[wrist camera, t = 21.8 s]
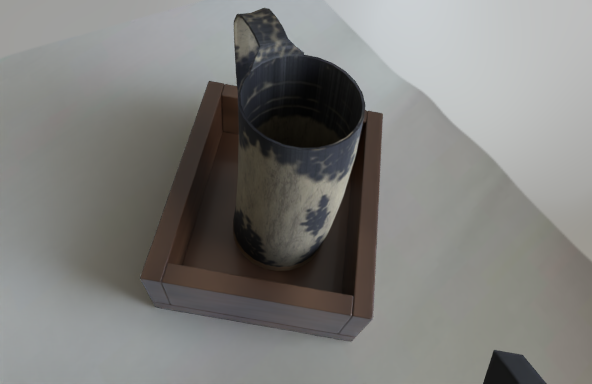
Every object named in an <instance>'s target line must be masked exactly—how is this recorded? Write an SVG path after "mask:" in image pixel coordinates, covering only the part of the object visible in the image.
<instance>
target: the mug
mask: <svg viewBox="0 0 592 384" xmlns="http://www.w3.org/2000/svg"><path fill="white" fill-rule="evenodd" d="M234 43H235V62H236V78H237V90H238V120H239V149H238V182H237V196H236V207H235V213H234V219H233V236H234V239H235V242H236V244H237V247H238V248H239V249H240V251H241V252H242V254H243V255H244V256H245V257H246V258H247V259H248V260H250V261H251V262H252V263H253V264H256V265H258V266H260V267H262V268H264V269H269V270H274V271H288V270H292V269H295V268H299V267H302V266H303V265H305V264H306V263H308V262H309V261H311V260H312V259H313V258H314V256H315V255H316V254H317V253H318V252H319V250H320V248H321V246H322V243H323V241H324V240H325V238H326V236H327V234H328V232H329V230H330V228H331V226H332V223H333V221H334V218H335V216H336V213H337V211H338V208H339V206H340V204H341V201H342V199H343V196H344V193H345V190H346V186H347V183H348V180H349V176H350V173H351V170H352V166H353V163H354V160H355V156H356V152H357V148H358V143H359V139H360V134H361V129H362V125H363V120H364V113H365V102H364V98H363V94H362V91H361V90H360V88H359V86H358V85H357V83H356V81H355V80H354V79H353V78H352V77H351V76H350V75H349V74H348V73H347V72H346V71H344V70H343V69H341V68H339V67H338V66H336V65H335V64H333V63H331V62H328V61H326V60H323V59H321V58H318V57H313V56H308V55H304V52H302V51H301V50H300V49H299V48H297V47H296V46H295V45H294V44H293V43H292V42H291V41H290V40H289V39H288V38H287V35H286V33H285V31H284V29H283V27H282V25H281V23H280V22H279V20H278V19H277V17H276V16H275V15H274V14H273V13H272V11H271V10H270V9H267V8H262V9H260V10H257V11H255V12H252V13H246V14H237V15H236V18H235V20H234Z"/></svg>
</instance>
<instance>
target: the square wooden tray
mask: <svg viewBox="0 0 592 384" xmlns="http://www.w3.org/2000/svg"><path fill="white" fill-rule="evenodd" d="M382 119H383V114H382V113H377V112H372V111H366V110H365V113H364V120H363V125H362V129H361V134H360V139H359V143H358V148H357V152H356V156H355V160H354V163H353V166H352V170H351V173H350V176H349V180H348V183H347V186H346V190H345V193H344V196H343V199H342V201H341V204H340V206H339V208H338V211H337V213H336V216H335V218H334V221H333V223H332V226H331V228H330V230H329V232H328V234H327V236H326V238H325V240H324V241H323V243H322V246H321V248H320V250H319V252H318V253H317V254H316V255H315V256H314V258H313V259H312V260H311V261H309V262H308V263H306V264H305V265H303V266H302V267H299V268H295V269H292V270H288V271H274V270H269V269H264V268H262V267H260V266H258V265H256V264H253V263H252V262H251V261H250V260H248V259H247V258H246V257H245V256H244V255H243V254H242V252H241V251H240V249H239V248H238V247H237V244H236V242H235V239H234V236H233V219H234V213H235V207H236V196H237V182H238V149H239V120H238V90H237V86H233V85H228V84H225V85H224V84H223V83H218V82H212V81H209V82H208V85H207V88H206V90H205V93H204V96H203V99H202V102H201V105H200V108H199V110H198V113H197V116H196V119H195V122H194V125H193V128H192V130H191V133H190V136H189V139H188V142H187V145H186V148H185V150H184V153H183V156H182V159H181V162H180V165H179V168H178V170H177V173H176V176H175V179H174V182H173V185H172V188H171V190H170V193H169V196H168V199H167V202H166V205H165V208H164V210H163V213H162V216H161V219H160V222H159V225H158V228H157V231H156V233H155V236H154V239H153V242H152V245H151V248H150V251H149V253H148V256H147V259H146V262H145V265H144V268H143V271H142V273H141V276H140V279H141V281H142V283H143V285H144V287H145V289H146V290H147V292H148V294H149V296H150V298H151V300H152V302H153V304H154V306H155V307H158V308H163V309H169V310H175V311H181V312H186V313H192V314H198V315H203V316H209V317H215V318H221V319H226V320H232V321H238V322H243V323H249V324H255V325H261V326H266V327H272V328H278V329H284V330H289V331H295V332H301V333H306V334H312V335H318V336H324V337H329V338H335V339H341V340H346V341H353V340H354V338H355V337H356V336H357V335H358V334H359V333H360V332H361V331H362V330H363V329H364V328H365V327H366V326H367V325H368V324H369V322H370V321H371V320H372V319H373V308H374V287H375V266H376V245H377V224H378V203H379V182H380V161H381V140H382Z"/></svg>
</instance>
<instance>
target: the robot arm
mask: <svg viewBox="0 0 592 384" xmlns="http://www.w3.org/2000/svg"><path fill="white" fill-rule="evenodd" d="M483 384H546V383H545V381H544V380H543V379H542V378H541V377H540V375H539V374H538V373H537V372H536V370H535V369H534V368H533V367H532V366H531V364H530V363H529V362H528V361H527V360H526V358H525V357H524V356H523V355H520V354H514V353H508V352H503V351H497V350H494V352H493V355H492V358H491V361H490V364H489V367H488V370H487V373H486V376H485V379H484V382H483Z"/></svg>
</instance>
